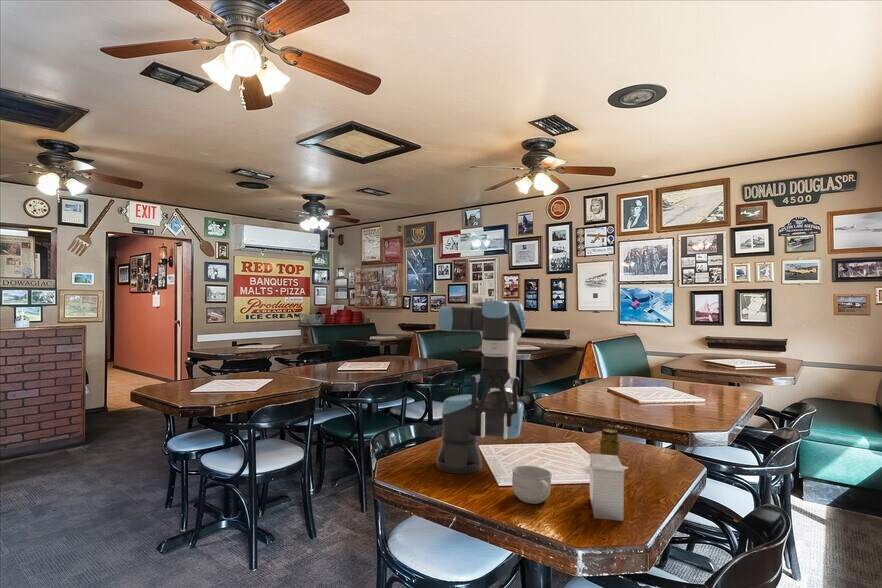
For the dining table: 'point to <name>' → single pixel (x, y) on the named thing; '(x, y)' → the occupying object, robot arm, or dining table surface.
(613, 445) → the condiment
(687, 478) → the dining table surface
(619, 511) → the napkin dispenser
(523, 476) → the teacup
